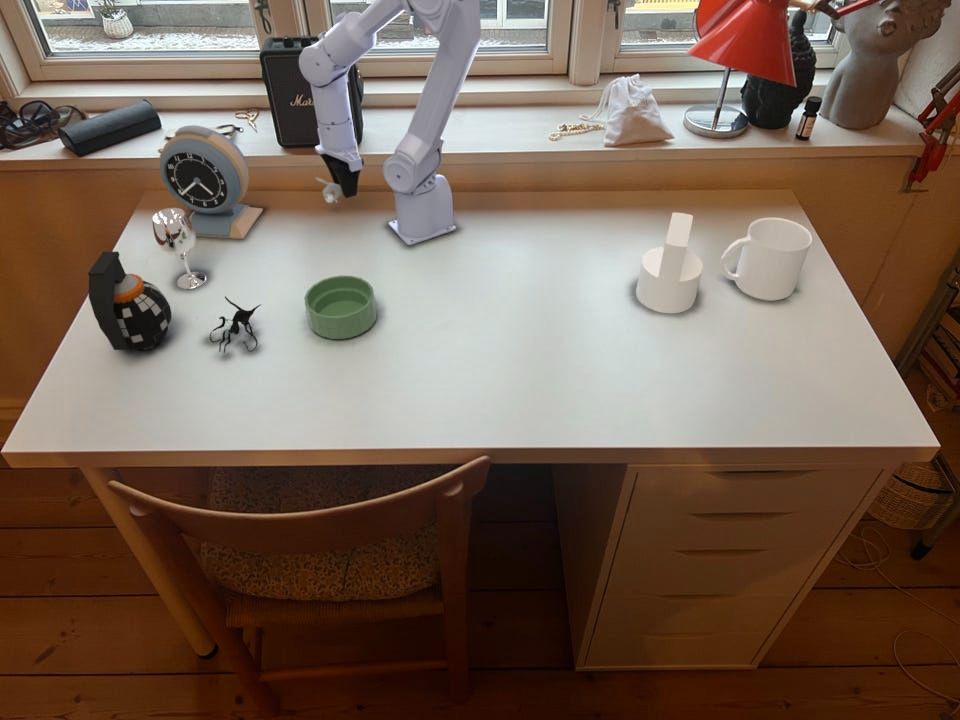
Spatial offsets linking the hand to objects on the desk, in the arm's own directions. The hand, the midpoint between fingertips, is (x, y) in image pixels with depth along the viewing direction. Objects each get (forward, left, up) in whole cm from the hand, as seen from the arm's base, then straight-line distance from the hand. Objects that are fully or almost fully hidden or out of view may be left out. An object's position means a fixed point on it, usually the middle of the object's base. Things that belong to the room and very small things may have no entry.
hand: (346, 191), depth 125 cm
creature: (+28, +24, -4) cm, 37 cm away
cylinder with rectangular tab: (-32, +49, -4) cm, 59 cm away
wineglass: (+30, +6, -4) cm, 31 cm away
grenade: (+40, +18, -4) cm, 44 cm away
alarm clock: (+21, -9, -4) cm, 23 cm away
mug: (-46, +54, -4) cm, 71 cm away
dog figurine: (+1, 0, -2) cm, 2 cm away
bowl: (+13, +28, -4) cm, 31 cm away
